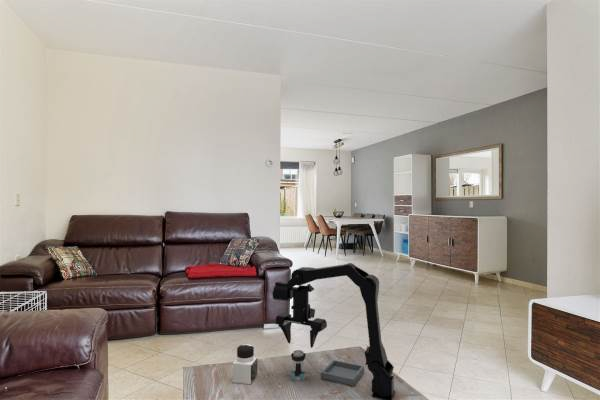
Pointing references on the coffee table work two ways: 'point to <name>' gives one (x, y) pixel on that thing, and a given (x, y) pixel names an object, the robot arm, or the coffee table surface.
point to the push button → (298, 366)
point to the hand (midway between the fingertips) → (300, 345)
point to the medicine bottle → (245, 365)
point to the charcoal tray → (342, 373)
